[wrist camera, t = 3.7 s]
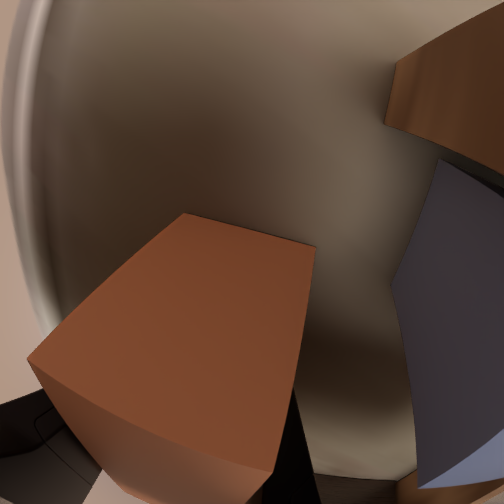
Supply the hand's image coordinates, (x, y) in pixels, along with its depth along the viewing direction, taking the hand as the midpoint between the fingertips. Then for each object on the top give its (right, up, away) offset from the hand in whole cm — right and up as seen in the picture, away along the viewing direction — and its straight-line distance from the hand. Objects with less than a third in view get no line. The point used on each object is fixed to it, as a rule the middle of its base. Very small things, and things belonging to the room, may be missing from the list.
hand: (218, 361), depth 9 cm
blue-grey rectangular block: (+9, +3, -3) cm, 10 cm away
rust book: (0, 0, +1) cm, 1 cm away
